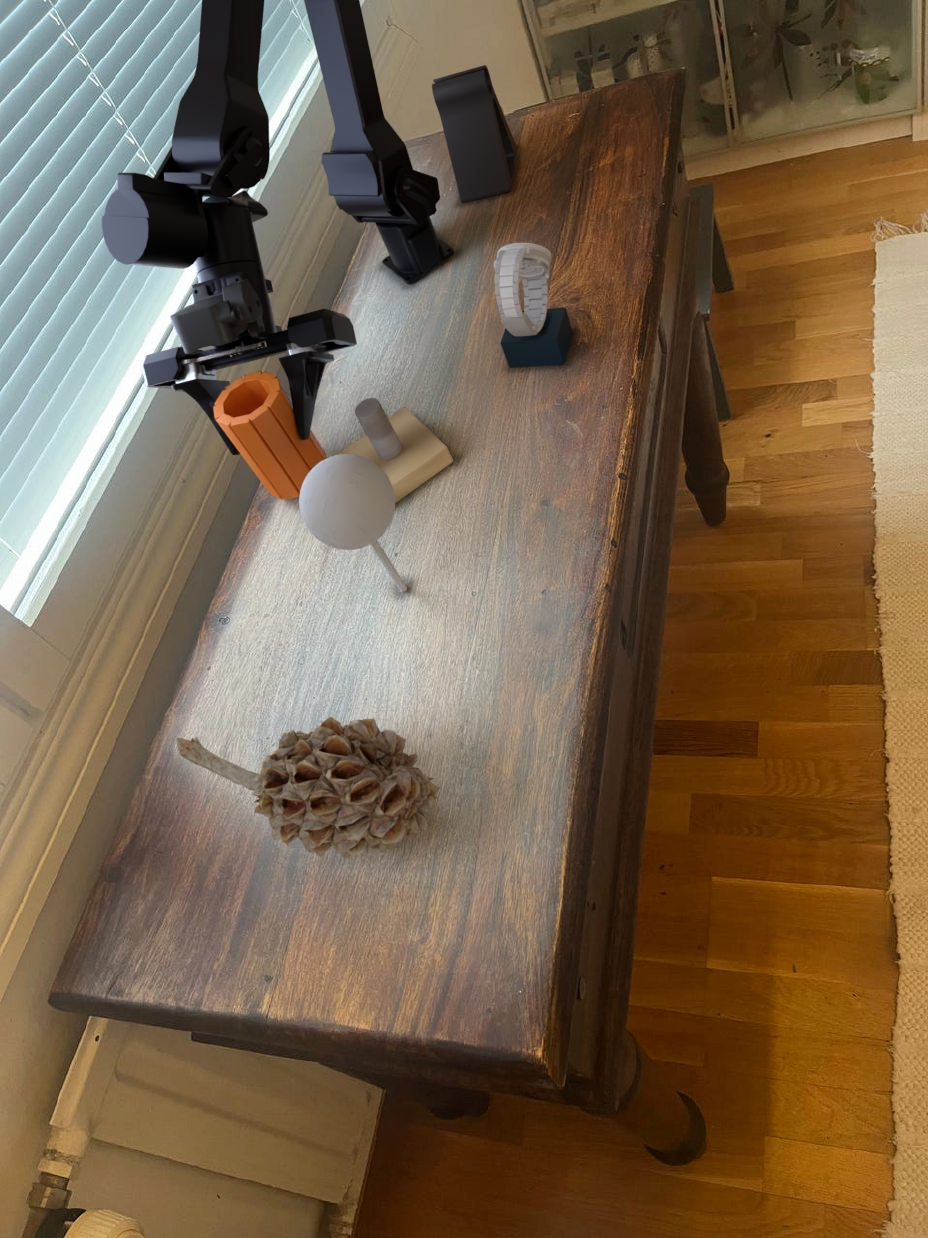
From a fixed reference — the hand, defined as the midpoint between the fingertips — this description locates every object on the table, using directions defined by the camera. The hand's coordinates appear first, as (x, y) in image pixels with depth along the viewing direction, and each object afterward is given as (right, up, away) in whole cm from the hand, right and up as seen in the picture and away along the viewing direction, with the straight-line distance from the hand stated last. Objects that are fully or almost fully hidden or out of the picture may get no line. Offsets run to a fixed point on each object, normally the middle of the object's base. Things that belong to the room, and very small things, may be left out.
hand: (270, 447), depth 84 cm
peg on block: (+11, -1, +3) cm, 12 cm away
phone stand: (+21, +37, +26) cm, 49 cm away
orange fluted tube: (+2, -2, +5) cm, 5 cm away
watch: (+25, +10, +6) cm, 28 cm away
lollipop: (+13, -13, -6) cm, 19 cm away
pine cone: (+7, -30, -15) cm, 34 cm away
